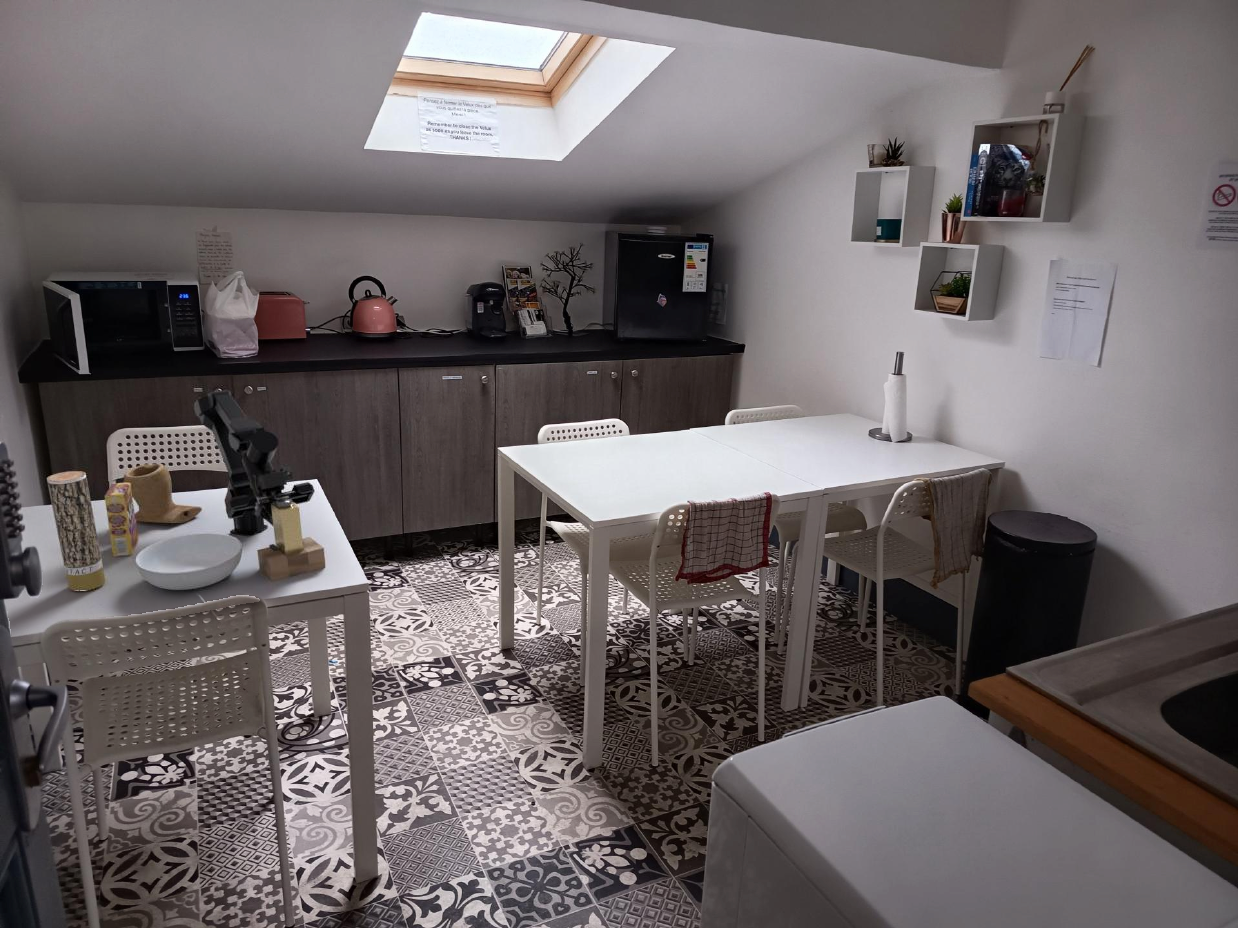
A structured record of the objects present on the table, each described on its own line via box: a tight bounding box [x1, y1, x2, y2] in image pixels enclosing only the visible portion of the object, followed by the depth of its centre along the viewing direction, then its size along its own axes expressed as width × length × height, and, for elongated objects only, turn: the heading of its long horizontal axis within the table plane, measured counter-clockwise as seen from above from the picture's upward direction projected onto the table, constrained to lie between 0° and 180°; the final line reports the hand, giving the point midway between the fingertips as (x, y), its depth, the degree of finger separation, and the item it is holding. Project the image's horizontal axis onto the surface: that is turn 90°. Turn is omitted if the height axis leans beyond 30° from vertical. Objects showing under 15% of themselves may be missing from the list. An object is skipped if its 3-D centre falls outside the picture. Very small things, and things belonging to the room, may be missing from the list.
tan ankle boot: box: [123, 462, 203, 524], centre depth 214 cm, size 15×12×15 cm
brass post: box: [271, 499, 303, 555], centre depth 189 cm, size 6×4×16 cm, turn 41°
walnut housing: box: [257, 536, 327, 582], centre depth 190 cm, size 8×12×6 cm, turn 131°
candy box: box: [104, 482, 139, 557], centre depth 197 cm, size 9×4×15 cm, turn 20°
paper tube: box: [46, 470, 106, 591], centre depth 177 cm, size 7×7×25 cm
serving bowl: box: [135, 532, 243, 591], centre depth 184 cm, size 21×21×7 cm
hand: (282, 532), depth 191 cm, fingers closed, pressing on brass post
